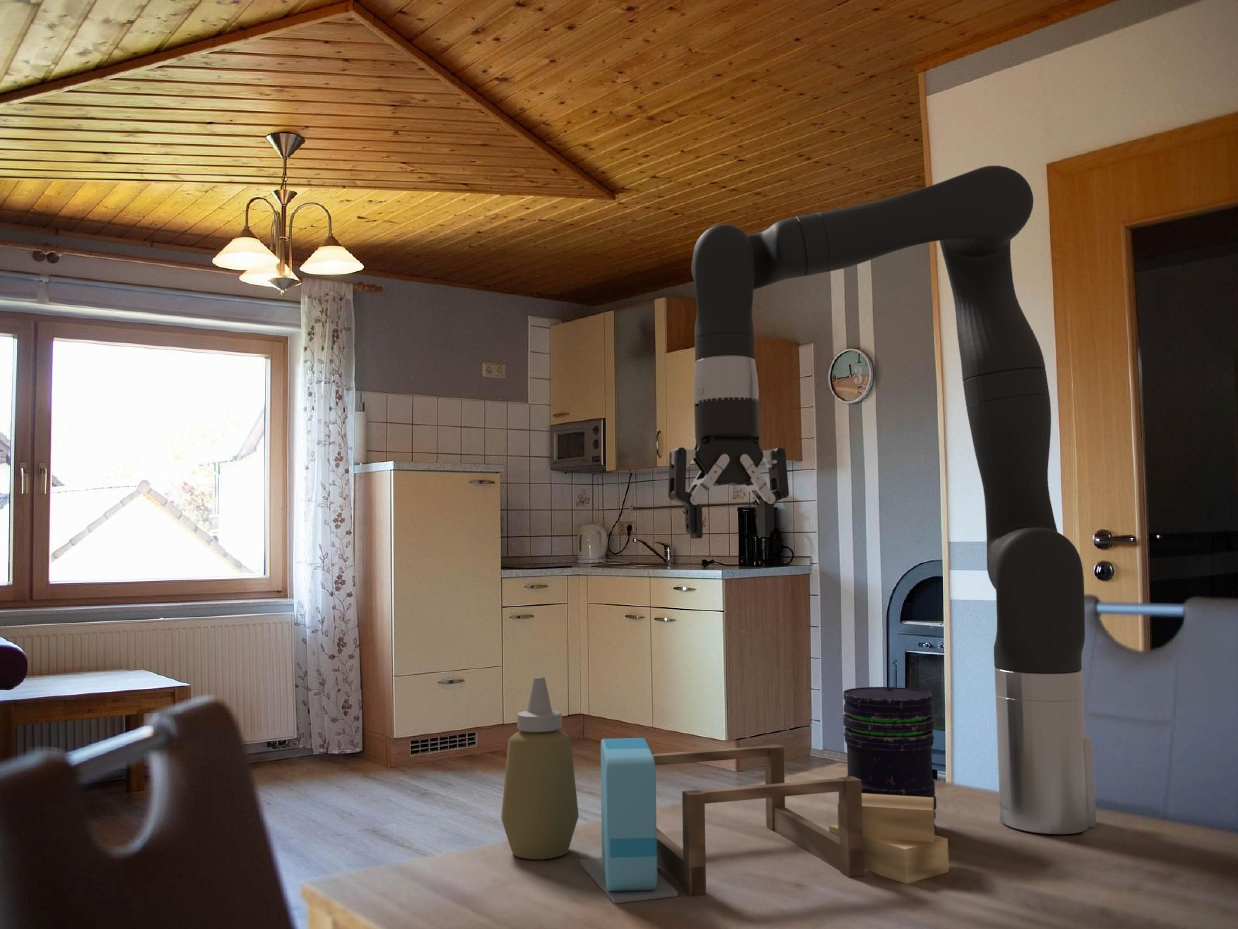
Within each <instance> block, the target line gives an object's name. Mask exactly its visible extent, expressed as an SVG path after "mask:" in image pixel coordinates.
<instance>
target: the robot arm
mask: <svg viewBox="0 0 1238 929" xmlns="http://www.w3.org/2000/svg"><path fill="white" fill-rule="evenodd" d="M1033 208H1034V195H1033V191H1032V188H1031V186H1030V184H1029V182H1028V181H1027V179H1026V178H1025V177H1024V176H1023V175H1022V174H1020V173H1019V172H1017V171H1016V170H1015V169H1012V168H1010V167H1007V166H1002V165H985V166H983V167H979V168H976V169H973V170H970V171H968V172H964V173H962V174H959V175H957V176H954V177H952V178H948V179H946V180H943V181H940V182H938V183H934V184H932V185H928V186H925V187H923V188H920V189H915V190H912V191H909V192H905V193H902V194H899V195H895V196H891V197H887V198H882V199H878V200H875V201H871V202H866V203H862V204H856V205H851V206H847V207H842V208H836V209H831V210H827V211H819V212H815V213H814V212H813V213H809V214H803V215H798V216H795V217H789V218H785V219H780V220H779V221H777V222H775V223H773V224H772V225H771V226H770V227H768V228H767V229H765V230H762V231H759V232H755V233H750V234H746V233H745V232H744V231H743V230H742V229H740V228H739V227H737V226H735V225H732V224H726V223H723V224H721V223H720V224H716V225H713V226H711V227H710V228H708V229H706V230H705V231H704V232H703V233H702V234H701V235H700V236H699V238H698V239H697V240H696V242H695V245H694V247H693V248H694V249H693V253H692V260H691V268H690V269H691V275H692V279H693V280H694V283H695V297H696V298H695V299H696V316H695V318H696V319H695V323H694V324H695V325H694V361H695V362H694V373H693V403H694V404H693V405H694V406H693V407H694V437H695V438H694V439H695V447H694V449H685V447H676V448H674V449H671V450H670V451H669V456H668V488H667V490H668V491H667V493H668V494H667V496H668V499H669V500H670V501H674V502H678V503H680V504H682V505H683V507H684V514H685V515H684V520H685V521H684V522H685V531H686V534H689V536H690V539H692V540H693V539H695V540H696V539H698V540H699V539H703V536H704V534H703V533H704V532H703V530H704V529H703V528H704V527H703V506H702V505H700V503H701V501H702V499H703V498H704V496H705V495H706V493H707V492H708V491H710V490H711V488H712V487H714V486H715V487H717V486H718V487H719V486H727V485H729V486H730V487H731V486H734V487H735V486H743V487H744V488H745V489H746V491H748V492H749V493H751V495H752V496H753V498H754V499H755V500H756V502H757V503H758V505H756V526H757V527H756V530H757V532H756V534H757V537H758V538H763V537H765V538H766V537H767V538H769V537H771V534H772V532H774V531H775V507H774V506H775V504H776V503H777V502H779V501H781V500H783V499H787V498H788V497H789V495H790V490H789V476H788V466H787V465H788V464H787V457H786V450H785V449H784V448H783V447H777V448H772V449H768V450H767V449H764V450H762V448H761V446H760V432H761V431H760V430H761V429H760V411H759V410H760V406H759V404H760V403H759V401H760V400H759V397H760V390H759V379H758V373H757V368H756V367H757V366H756V357H755V354H756V353H755V331H754V329H755V328H754V322H753V304H754V302H753V301H754V290H757V289H759V288H760V289H761V288H763V287H766V286H770V285H771V284H772V285H773V284H776V283H778V282H781V281H784V280H789V279H795V278H802V277H807V276H808V277H809V276H811V275H812V276H813V275H817V274H818V275H819V274H823V273H829V272H834V271H838V270H842V269H847V268H850V267H854V266H857V265H860V264H863V263H865V262H868V261H872V260H873V259H877V258H879V257H882V256H885V255H888V254H890V253H893V252H896V251H900V250H903V249H906V248H907V249H908V248H911V247H914V246H917V245H923V244H928V243H932V242H938V241H939V244H940V248H941V249H940V250H941V251H942V252H941V253H942V256H943V260H944V263H945V269H946V271H947V274H948V275H947V276H948V279H949V283H950V287H951V292H952V297H953V302H954V303H953V304H954V310H955V321H956V322H955V323H956V324H955V325H956V332H957V341H958V342H957V343H958V350H959V357H960V365H961V366H960V367H961V374H962V375H961V376H962V378H961V379H962V385H963V391H964V392H963V394H964V400H965V407H966V413H967V418H968V423H969V428H970V433H971V438H972V443H973V449H974V453H975V454H974V455H975V458H976V459H975V460H976V462H977V467H978V470H979V471H978V472H979V475H980V478H981V483H982V488H983V489H982V490H983V495H984V507H985V508H984V509H985V511H984V512H985V529H986V530H985V531H986V570H987V576H988V578H989V581H990V582H991V585H992V586H993V588H994V589H995V596H996V597H995V599H996V600H995V601H996V632H995V634H996V635H995V641H994V645H993V664H994V665H993V666H994V685H995V686H994V688H995V689H994V690H995V710H996V712H995V713H996V714H995V717H996V739H997V746H996V747H997V770H998V793H999V794H998V796H999V798H998V799H999V820H1000V821H1001V823H1002V824H1004V825H1006V826H1008V827H1010V828H1013V829H1017V830H1020V831H1025V832H1030V833H1037V834H1045V835H1046V834H1049V835H1070V834H1077V833H1081V832H1085V831H1087V830H1088V829H1089V828H1092V827H1097V810H1096V809H1097V808H1096V788H1095V784H1096V783H1095V769H1094V768H1095V767H1094V766H1095V765H1094V762H1095V761H1094V746H1093V745H1094V744H1093V741H1092V739H1091V738H1090V737H1087V736H1085V734H1086V733H1085V730H1086V729H1085V715H1084V714H1085V711H1084V710H1085V709H1084V708H1085V707H1084V691H1083V690H1084V689H1083V671H1082V668H1083V667H1082V656H1083V650H1084V647H1085V641H1086V640H1085V638H1086V637H1085V636H1086V620H1085V619H1086V617H1085V616H1086V612H1085V609H1086V608H1085V576H1084V569H1083V568H1084V567H1083V563H1082V559H1081V556H1080V553H1079V551H1078V550H1077V549H1078V548H1076V546H1075V545H1074V544H1073V542H1071V540H1070V539H1068V538H1067V537H1066V536H1065V535H1064V534H1062V533H1060V532H1058V528H1057V524H1056V521H1055V515H1054V512H1053V511H1054V510H1053V507H1052V500H1051V496H1050V495H1051V494H1050V489H1049V461H1050V460H1049V458H1050V449H1051V436H1052V434H1051V433H1052V410H1051V408H1052V407H1051V406H1052V405H1051V397H1050V390H1049V382H1048V377H1047V370H1046V364H1045V358H1044V355H1043V352H1042V348H1041V346H1040V344H1039V342H1038V339H1037V337H1036V335H1035V333H1034V330H1033V329H1032V327H1031V325H1030V323H1029V321H1028V319H1027V317H1026V316H1025V314H1024V311H1023V310H1022V308H1021V305H1020V303H1019V300H1018V298H1017V294H1016V290H1015V284H1014V278H1013V268H1012V258H1011V256H1012V255H1011V254H1012V253H1011V241H1012V240H1013V239H1014V238H1016V236H1017V235H1018V234H1019V233H1020V232H1021V231H1022V229H1024V227H1025V225H1026V224H1027V223H1028V220H1029V219H1030V217H1031V214H1032V211H1033ZM691 461H693V462H694V464H695V465H696V466H697V468H698V469H699V472H698V474H697V475H696V477H695V478H694V479H693V481H692V483H691V486H690V487H689V489H688V490H687V491H686V488H687V487H686V485H687V484H686V483H687V468H688V467H689V466H690V465H691ZM762 461H763V462H764V466H766V468H767V469H768V478H769V479H768V480H769V486H768V484H767V481H766V479H765V478H764V476H763V475H762V474H761V472H760V471H759V470H758V467H759V465H760V464H761V463H762Z"/></svg>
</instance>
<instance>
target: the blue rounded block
mask: <svg viewBox="0 0 1238 929" xmlns="http://www.w3.org/2000/svg"><path fill="white" fill-rule="evenodd" d="M652 754H653V753H652V751H651V749H650V747H649V744H648V741H647V740H646V738H644V737H634V738H633V737H631V738H630V737H629V738H628V737H626V738H624V737H623V738H602V739H601V741H600V804H601V805H600V806H601V808H600V809H601V811H600V812H601V813H600V814H601V815H600V816H601V822H600V823H601V826H600V829H601V858H602V860H603V866H604V873H605V880H606V886H607V890H608V891H636V890H655V889H656V887H657V873H658V864H657V832H656V828H657V776H656V775H657V773H656V765H655V760H654V757H653V755H652Z"/></svg>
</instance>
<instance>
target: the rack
mask: <svg viewBox="0 0 1238 929" xmlns="http://www.w3.org/2000/svg"><path fill="white" fill-rule="evenodd" d="M652 755H653V757H654V760H655V766H666V765H677V764H689V763H690V764H691V763H704V762H705V763H706V762H718V761H728V760H730V761H731V760H743V759H754V758H755V759H756V758H764V771H765V772H764V776H765V780H764V781H765V784H755V785H747V786H746V785H744V786H735V787H734V786H733V787H723V788H712V789H711V788H709V789H708V788H707V789H700V790H699V789H690V790H682V791H681V792H682V794H681V796H682V797H681V802H682V804H681V805H682V806H681V807H682V808H681V809H682V847H681V846H680V845H678V844H677V843H676V842H675V841H673V839H671V838H669V836H667V835H666V834H665V833H664V832H663V831H661V830H660V829H658V827H656V832H657V866H659V867H660V868H661V869H662V870H663V871H664V872H665V873H666V874H668V875H669V876H670V877H671V878H672V879H673V881H675V882H676V883H677V884H679V886H681V887H682V888H683V891H684V892H685V893H686V894H687V895H688V896H689V897H691V896H703V895H707V868H706V866H707V865H706V864H707V863H706V862H707V861H706V859H707V858H706V856H707V854H706V851H707V850H706V808H705V807H706V804H714V803H715V804H717V803H725V802H726V803H727V802H738V801H739V802H740V801H748V800H749V801H750V800H759V799H760V800H761V799H765V820H766V821H765V824H766V828H767V829H769V830H771V831H775V832H776V833H778V834H780V835H782V836H783V837H785V838H786V839H788V840H789V841H791V842H793V843H794V844H795V845H798V846H799V847H801V848H803V849H804V850H806V851H807V852H809V853H810V854H812V855H814V856H816V857H817V858H818V859H821V860H822V861H824V862H826V863H827V864H829V865H830V866H832V867H834V868H835V869H837V870H839V871H840V873H841V874H843V875H844V876H846V877H847V878H854V877H864V876H865V875H864V874H865V869H864V862H863V826H862V791H861V780H860V779H858V778H856V777H853V776H851V777H847V776H842V777H838V778H829V779H828V778H827V779H815V780H804V781H794V782H791V781H790V782H785V747H784V746H783V745H779V744H778V743H777V744H765V745H760V746H744V747H732V748H719V749H718V748H717V749H705V750H693V751H692V750H691V751H678V752H677V751H676V752H666V753H665V752H663V753H652ZM837 792H838V802H839V826H840V837H838V836H837V835H835V834H833V833H831V832H829V830H828V829H825V828H824V827H821V826H820V825H818V824H816V823H814V822H813V821H811V820H809V819H807V818H805V817H804V816H802V815H800V814H799V813H797V812H795V811H792V810H791V809H789V808H788V807H786V797H792V796H793V797H794V796H805V795H806V796H807V795H817V794H827V793H837Z"/></svg>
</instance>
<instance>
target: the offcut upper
mask: <svg viewBox="0 0 1238 929" xmlns="http://www.w3.org/2000/svg"><path fill="white" fill-rule="evenodd" d="M934 821H935V820H934V798H933V797H916V796H899V795H882V794H865V793H862V826H863V837H866V838H880V839H894V840H908V841H922V842H934V831H935V825H936V824H934ZM837 824H838V836H840V826H839V801H838V803H837Z"/></svg>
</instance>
